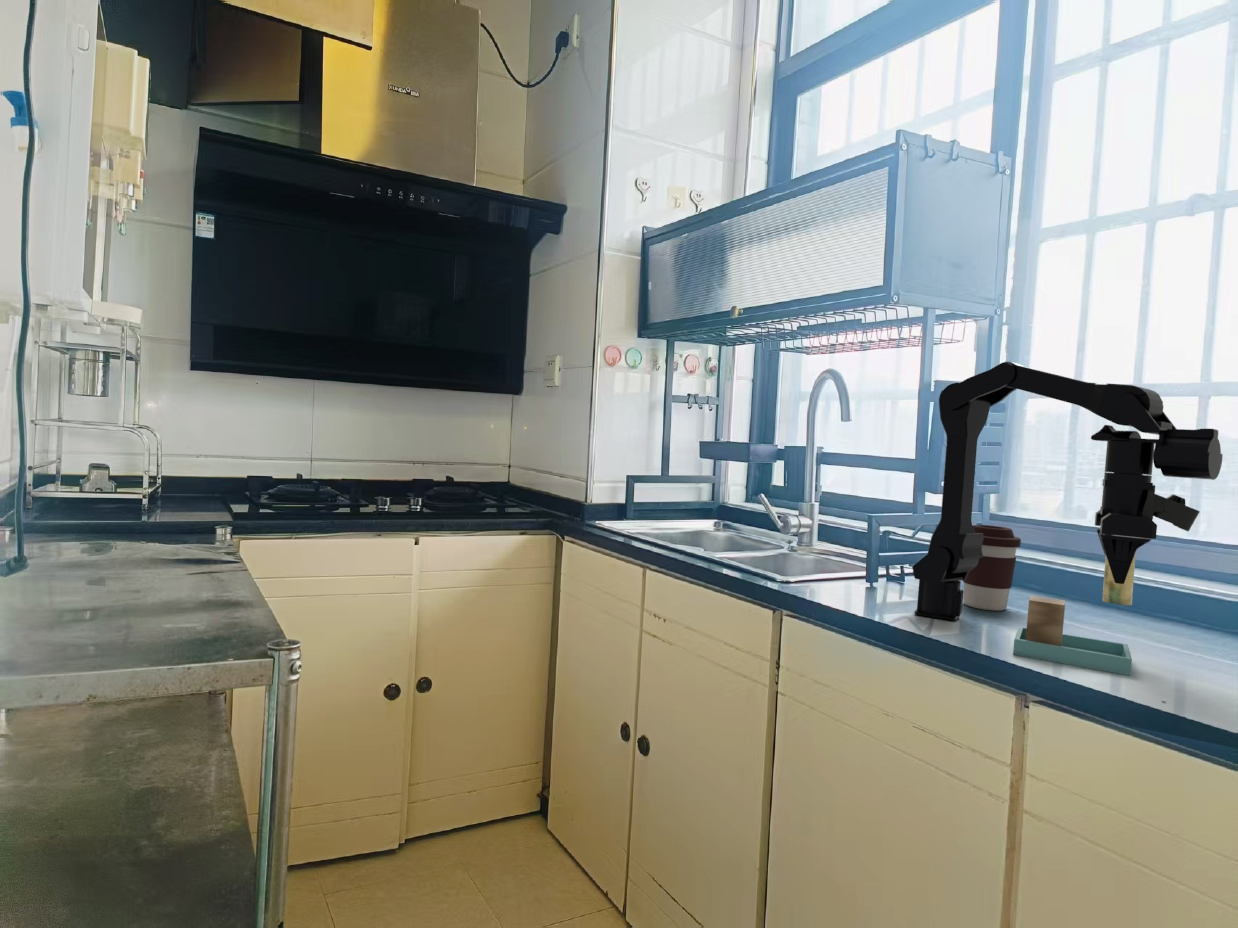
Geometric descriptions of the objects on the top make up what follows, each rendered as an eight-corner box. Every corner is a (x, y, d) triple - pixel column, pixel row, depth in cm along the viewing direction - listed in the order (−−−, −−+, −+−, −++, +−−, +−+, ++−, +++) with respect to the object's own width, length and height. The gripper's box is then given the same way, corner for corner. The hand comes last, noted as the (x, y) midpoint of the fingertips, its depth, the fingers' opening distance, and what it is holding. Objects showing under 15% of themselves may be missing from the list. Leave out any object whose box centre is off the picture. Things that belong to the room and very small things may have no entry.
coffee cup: (964, 598, 152) (971, 522, 151) (1020, 608, 146) (1027, 528, 145) (949, 605, 144) (955, 524, 144) (1007, 615, 138) (1014, 531, 137)
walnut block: (1024, 648, 112) (1029, 600, 112) (1026, 641, 116) (1030, 595, 116) (1060, 654, 110) (1064, 605, 110) (1061, 647, 114) (1065, 600, 114)
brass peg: (1103, 602, 112) (1107, 550, 111) (1101, 598, 115) (1104, 548, 115) (1133, 606, 110) (1137, 553, 110) (1130, 602, 113) (1133, 551, 113)
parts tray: (1013, 654, 111) (1014, 639, 111) (1017, 640, 119) (1019, 626, 119) (1130, 675, 104) (1131, 659, 104) (1126, 659, 112) (1127, 644, 112)
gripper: (1209, 479, 100) (1197, 600, 100) (1186, 477, 116) (1176, 581, 117) (1106, 473, 105) (1096, 587, 106) (1099, 471, 121) (1090, 570, 122)
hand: (1118, 581), depth 112 cm, fingers closed on brass peg, 4 cm apart
